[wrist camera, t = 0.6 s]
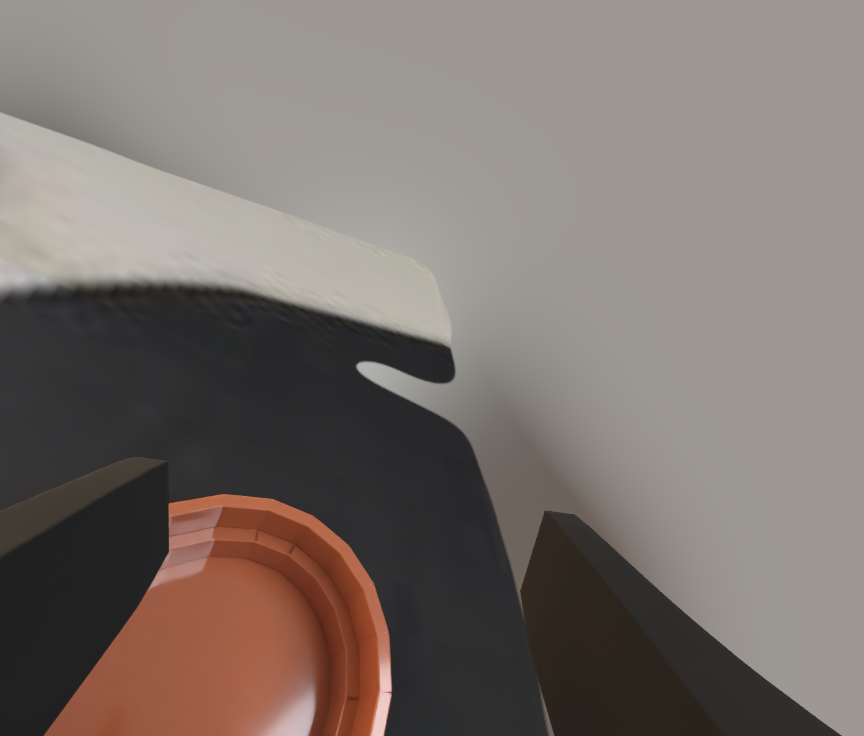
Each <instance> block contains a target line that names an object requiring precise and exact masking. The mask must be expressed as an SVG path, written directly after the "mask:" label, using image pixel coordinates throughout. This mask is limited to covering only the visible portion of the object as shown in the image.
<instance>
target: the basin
mask: <svg viewBox="0 0 864 736" xmlns="http://www.w3.org/2000/svg"><path fill="white" fill-rule="evenodd" d="M388 633H389V631H388V628H387V624H386V621H385V618H384V615H383V612H382V608H381V605H380V602H379V599H378V596H377V592H376V589H375V586H374V585H373V582H372V580H371V579H370V577H369V575H368V574H367V572H366V571H365V569H364V568H363V566H362V565H361V563H360V562H359V560H358V559H357V557H356V556H355V554H354V553H353V551H352V549H351V548H350V546H349V545H348V544H347V543H345V542H344V541H343V540H342V539H341V538H339V537H338V536H337V535H336V534H335V533H333V532H332V531H331V530H330V529H329V528H327V527H326V526H325V525H324V524H323V523H321V522H320V521H319V520H318V519H317V518H315V517H314V516H312V515H310V514H308V513H305V512H303V511H300V510H298V509H296V508H293V507H291V506H288V505H286V504H283V503H281V502H279V501H276V500H274V499H268V498H258V497H248V496H238V495H228V494H224V495H216V496H210V497H204V498H198V499H193V500H187V501H181V502H175V503H170V504H169V553H168V555H167V557H166V558H165V560H164V562H163V564H162V566H161V567H160V569H159V571H158V573H157V575H156V577H155V578H154V580H153V582H152V584H151V585H150V587H149V589H148V590H147V592H146V594H145V596H144V597H143V599H142V601H141V602H140V604H139V606H138V607H137V609H136V610H135V611H134V613H133V614H132V616H131V617H130V618H129V620H128V621H127V623H126V624H125V625H124V627H123V628H122V630H121V631H120V632H119V634H118V635H117V636H116V638H115V639H114V641H113V642H112V643H111V645H110V646H109V648H108V649H107V650H106V652H105V653H104V654H103V656H102V657H101V659H100V660H99V661H98V663H97V664H96V665H95V667H94V668H93V669H92V671H91V672H90V674H89V675H88V676H87V678H86V679H85V680H84V682H83V683H82V684H81V686H80V687H79V688H78V690H77V691H76V693H75V694H74V695H73V697H72V698H71V699H70V701H69V702H68V703H67V705H66V706H65V708H64V709H63V710H62V712H61V713H60V714H59V716H58V717H57V718H56V720H55V721H54V723H53V724H52V725H51V727H50V728H49V729H48V731H47V732H46V733H45V735H44V736H384V734H385V728H386V723H387V718H388V712H389V707H390V702H391V697H392V694H391V693H392V679H391V659H390V638H389V634H388Z"/></svg>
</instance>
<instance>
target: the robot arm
mask: <svg viewBox="0 0 864 736" xmlns="http://www.w3.org/2000/svg"><path fill="white" fill-rule="evenodd" d="M168 553H169V491H168V461H162V460H155V459H147V458H139V457H131V458H128V459H126V460H123V461H120V462H117V463H114V464H112V465H109V466H107V467H104V468H102V469H99V470H97V471H94V472H92V473H89V474H87V475H85V476H82V477H80V478H77V479H75V480H73V481H70V482H68V483H66V484H63V485H61V486H58V487H56V488H54V489H51V490H49V491H47V492H44V493H42V494H39V495H37V496H35V497H32V498H30V499H27V500H25V501H23V502H20V503H18V504H15V505H13V506H11V507H8V508H6V509H4V510H1V511H0V736H44V735H45V733H46V732H47V731H48V729H49V728H50V727H51V725H52V724H53V723H54V721H55V720H56V718H57V717H58V716H59V714H60V713H61V712H62V710H63V709H64V708H65V706H66V705H67V703H68V702H69V701H70V699H71V698H72V697H73V695H74V694H75V693H76V691H77V690H78V688H79V687H80V686H81V684H82V683H83V682H84V680H85V679H86V678H87V676H88V675H89V674H90V672H91V671H92V669H93V668H94V667H95V665H96V664H97V663H98V661H99V660H100V659H101V657H102V656H103V654H104V653H105V652H106V650H107V649H108V648H109V646H110V645H111V643H112V642H113V641H114V639H115V638H116V636H117V635H118V634H119V632H120V631H121V630H122V628H123V627H124V625H125V624H126V623H127V621H128V620H129V618H130V617H131V616H132V614H133V613H134V611H135V610H136V609H137V607H138V606H139V604H140V602H141V601H142V599H143V597H144V596H145V594H146V592H147V590H148V589H149V587H150V585H151V584H152V582H153V580H154V578H155V577H156V575H157V573H158V571H159V569H160V567H161V566H162V564H163V562H164V560H165V558H166V557H167V555H168ZM520 592H521V599H522V606H523V613H524V619H525V625H526V631H527V637H528V642H529V647H530V651H531V655H532V658H533V662H534V666H535V669H536V673H537V676H538V680H539V684H540V687H541V691H542V694H543V698H544V701H545V705H546V708H547V712H548V715H549V719H550V722H551V725H552V729H553V732H554V736H841V735H840V734H839V733H837V732H836V731H834V730H833V729H831V728H830V727H829V726H827V725H826V724H824V723H823V722H822V721H820V720H819V719H818V718H816V717H815V716H814V715H812V714H811V713H810V712H808V711H807V710H805V709H804V708H803V707H802V706H800V705H799V704H798V703H796V702H795V701H794V700H792V699H791V698H790V697H788V696H787V695H786V694H784V693H783V692H782V691H780V690H779V689H778V688H776V687H775V686H774V685H772V684H771V683H770V682H768V681H767V680H766V679H764V678H763V677H762V676H760V675H759V674H758V673H757V672H755V671H754V670H753V669H752V668H750V667H749V666H748V665H747V664H745V663H744V662H743V661H741V660H740V659H739V658H738V657H737V656H735V655H734V654H733V653H732V652H731V651H729V650H728V649H727V648H726V647H725V646H723V645H722V644H721V643H720V642H718V641H717V640H716V639H715V638H714V637H713V636H711V635H710V634H709V633H708V632H707V631H705V630H704V629H703V628H702V627H701V626H699V625H698V624H697V623H696V622H695V621H693V620H692V619H691V618H690V617H689V616H688V615H686V614H685V613H684V612H683V611H682V610H681V609H680V608H678V607H677V606H676V605H675V604H674V603H672V601H670V600H669V599H668V598H667V597H666V596H665V595H664V594H663V593H662V592H660V591H659V590H658V589H657V588H656V587H655V586H654V585H653V584H652V583H650V582H649V581H648V580H647V579H646V578H645V577H644V576H643V575H642V574H641V573H639V572H638V571H637V570H636V569H635V568H634V567H633V566H632V565H631V564H630V563H629V562H628V561H626V560H625V559H624V558H623V557H622V556H621V555H620V554H619V553H618V552H617V551H616V550H615V549H613V548H612V547H611V546H610V545H609V544H608V543H607V542H606V541H605V540H604V539H602V538H601V537H600V536H599V535H598V534H597V533H596V532H595V531H593V529H591V528H590V527H589V526H588V525H587V524H586V523H584V522H583V521H582V520H581V519H580V518H578V517H577V516H575V515H574V514H567V513H559V512H552V511H545V512H544V516H543V519H542V522H541V526H540V529H539V532H538V535H537V538H536V542H535V545H534V548H533V551H532V555H531V558H530V561H529V564H528V568H527V571H526V574H525V578H524V581H523V584H522V588H521V591H520Z"/></svg>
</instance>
